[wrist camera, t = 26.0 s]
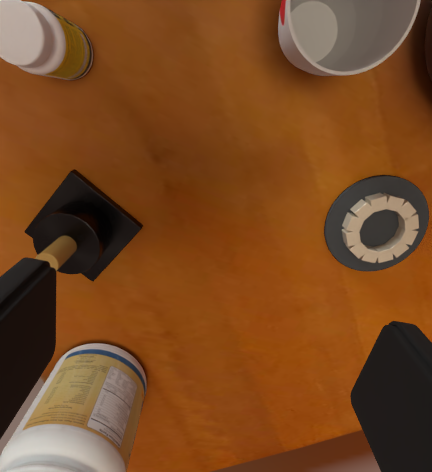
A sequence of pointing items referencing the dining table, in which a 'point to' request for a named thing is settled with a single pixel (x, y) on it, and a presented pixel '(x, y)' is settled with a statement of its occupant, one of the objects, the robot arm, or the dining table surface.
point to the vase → (429, 45)
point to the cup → (343, 33)
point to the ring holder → (81, 228)
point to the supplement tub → (81, 415)
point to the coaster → (374, 220)
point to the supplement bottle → (43, 41)
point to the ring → (396, 243)
